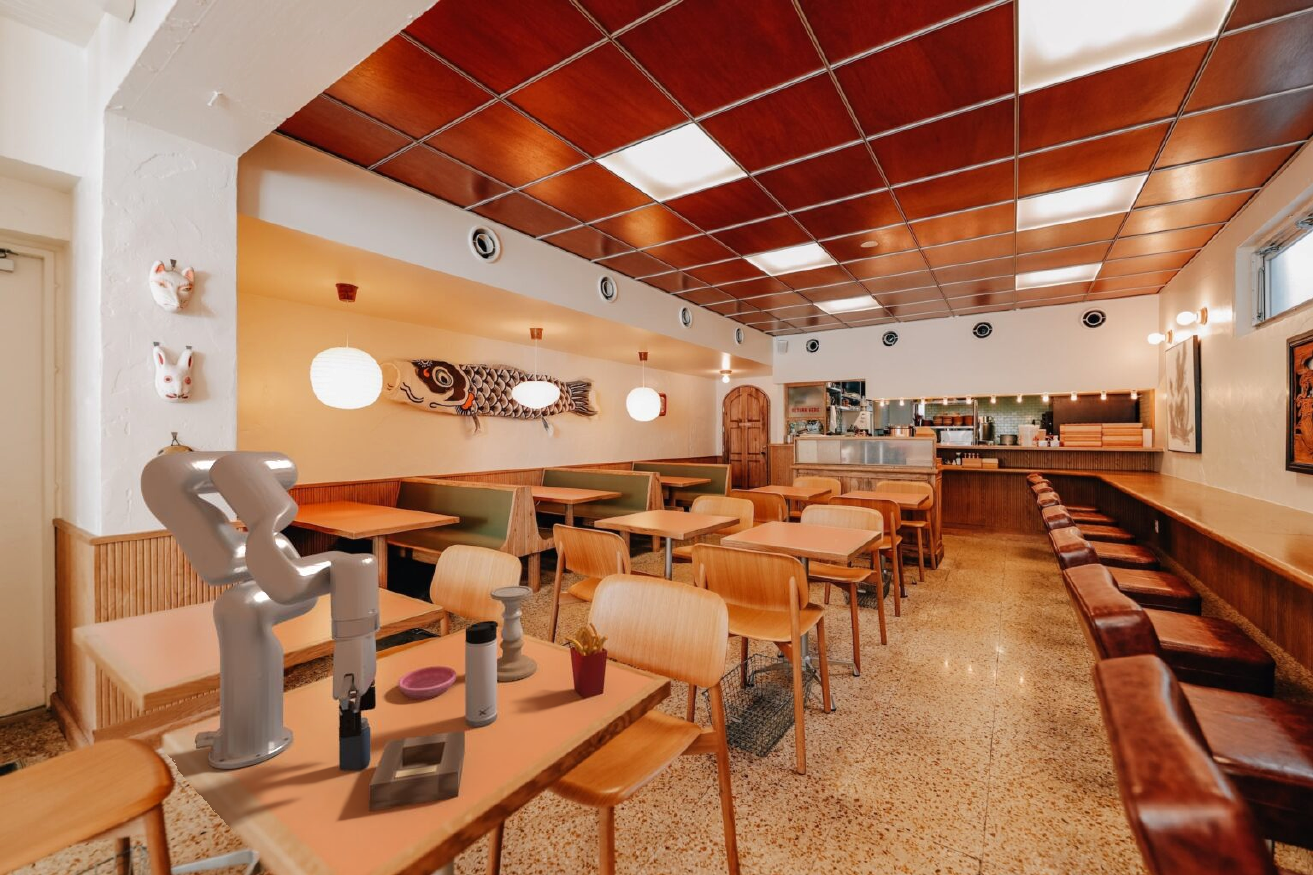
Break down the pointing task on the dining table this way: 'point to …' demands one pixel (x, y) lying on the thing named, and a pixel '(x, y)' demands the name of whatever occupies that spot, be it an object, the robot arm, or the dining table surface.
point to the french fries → (588, 662)
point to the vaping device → (355, 749)
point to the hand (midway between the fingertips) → (358, 722)
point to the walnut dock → (418, 770)
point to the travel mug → (481, 674)
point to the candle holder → (512, 635)
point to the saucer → (427, 682)
